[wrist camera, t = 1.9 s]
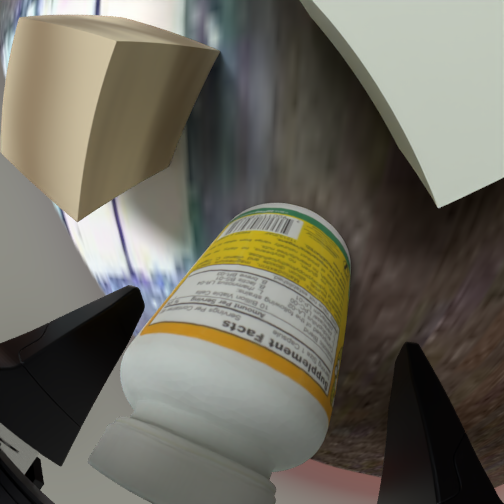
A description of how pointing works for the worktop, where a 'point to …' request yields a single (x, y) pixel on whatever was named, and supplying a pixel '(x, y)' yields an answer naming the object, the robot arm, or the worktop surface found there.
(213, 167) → the worktop surface
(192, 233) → the worktop surface
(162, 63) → the maple block
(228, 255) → the supplement bottle
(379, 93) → the white cube
